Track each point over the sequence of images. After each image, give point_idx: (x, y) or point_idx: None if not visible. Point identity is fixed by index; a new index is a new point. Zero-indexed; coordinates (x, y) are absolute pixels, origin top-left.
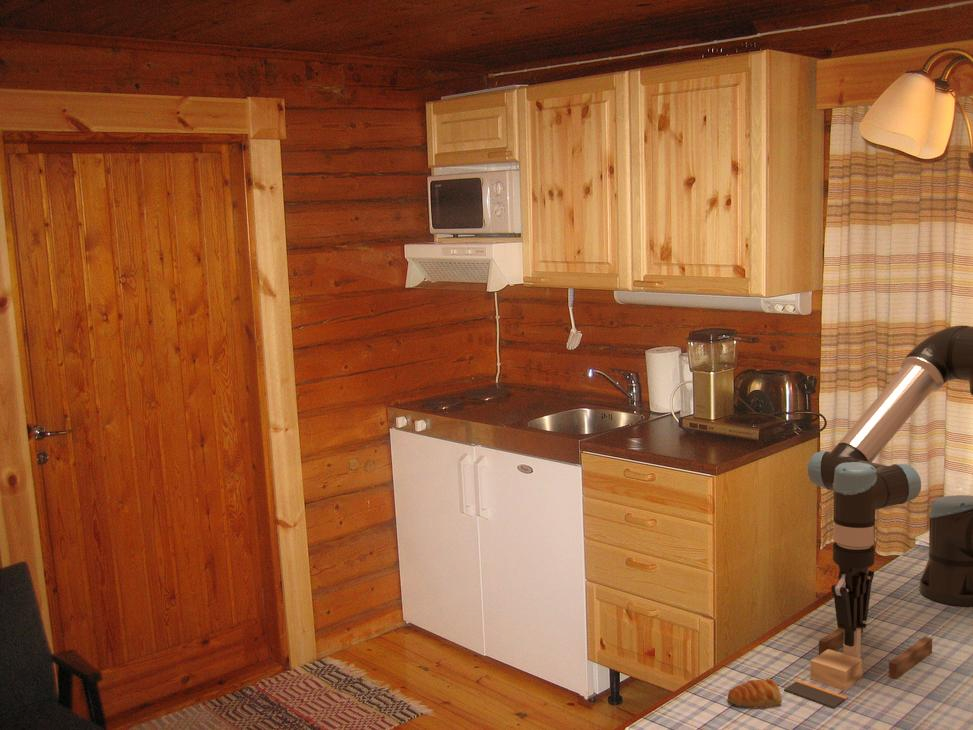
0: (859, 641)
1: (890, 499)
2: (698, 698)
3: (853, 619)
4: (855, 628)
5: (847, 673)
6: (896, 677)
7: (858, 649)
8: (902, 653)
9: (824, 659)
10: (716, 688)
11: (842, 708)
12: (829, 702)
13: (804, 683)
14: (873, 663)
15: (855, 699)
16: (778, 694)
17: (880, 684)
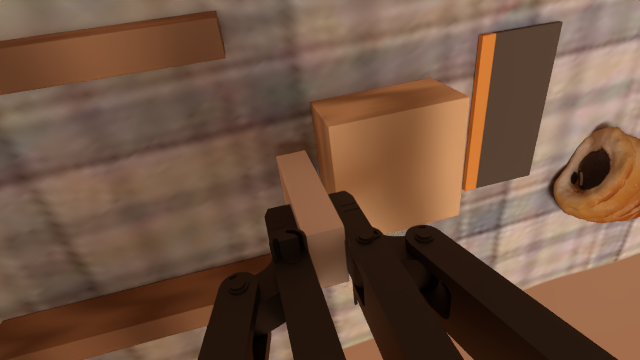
0: (302, 196)
1: None
2: (634, 235)
3: (408, 274)
4: (371, 234)
5: (445, 96)
6: (215, 11)
7: (302, 176)
8: (80, 75)
9: (424, 199)
10: (582, 249)
11: (543, 4)
12: (540, 51)
13: (473, 168)
14: (177, 151)
15: (465, 14)
16: (627, 142)
17: (305, 26)
